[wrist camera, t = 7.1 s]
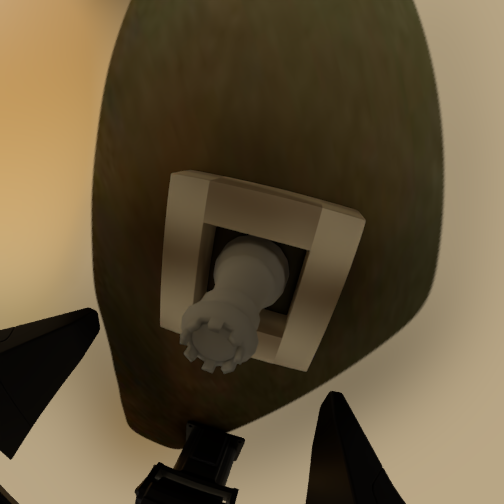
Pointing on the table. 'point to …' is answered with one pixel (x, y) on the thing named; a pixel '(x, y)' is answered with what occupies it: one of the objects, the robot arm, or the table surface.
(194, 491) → the robot arm
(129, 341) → the table surface
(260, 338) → the socket collar
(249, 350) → the rook chess piece
